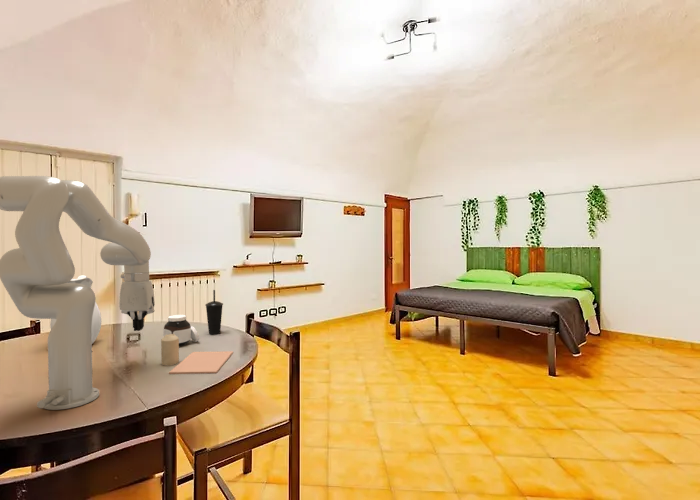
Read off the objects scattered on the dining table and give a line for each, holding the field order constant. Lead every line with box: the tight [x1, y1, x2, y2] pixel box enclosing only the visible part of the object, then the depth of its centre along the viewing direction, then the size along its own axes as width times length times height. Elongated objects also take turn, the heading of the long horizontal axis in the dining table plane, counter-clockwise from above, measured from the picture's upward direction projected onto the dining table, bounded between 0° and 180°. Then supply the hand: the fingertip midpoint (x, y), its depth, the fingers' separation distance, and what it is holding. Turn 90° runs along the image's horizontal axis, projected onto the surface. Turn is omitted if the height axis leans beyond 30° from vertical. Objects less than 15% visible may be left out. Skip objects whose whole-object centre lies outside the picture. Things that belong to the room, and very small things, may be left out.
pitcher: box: [49, 274, 102, 344], centre depth 159 cm, size 24×17×28 cm
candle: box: [160, 334, 180, 366], centre depth 134 cm, size 6×6×10 cm
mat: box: [168, 350, 234, 375], centre depth 135 cm, size 22×15×1 cm
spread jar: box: [163, 314, 200, 347], centre depth 159 cm, size 12×11×12 cm
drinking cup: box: [205, 289, 224, 336], centre depth 175 cm, size 8×8×20 cm
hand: (138, 329), depth 134 cm, fingers closed
